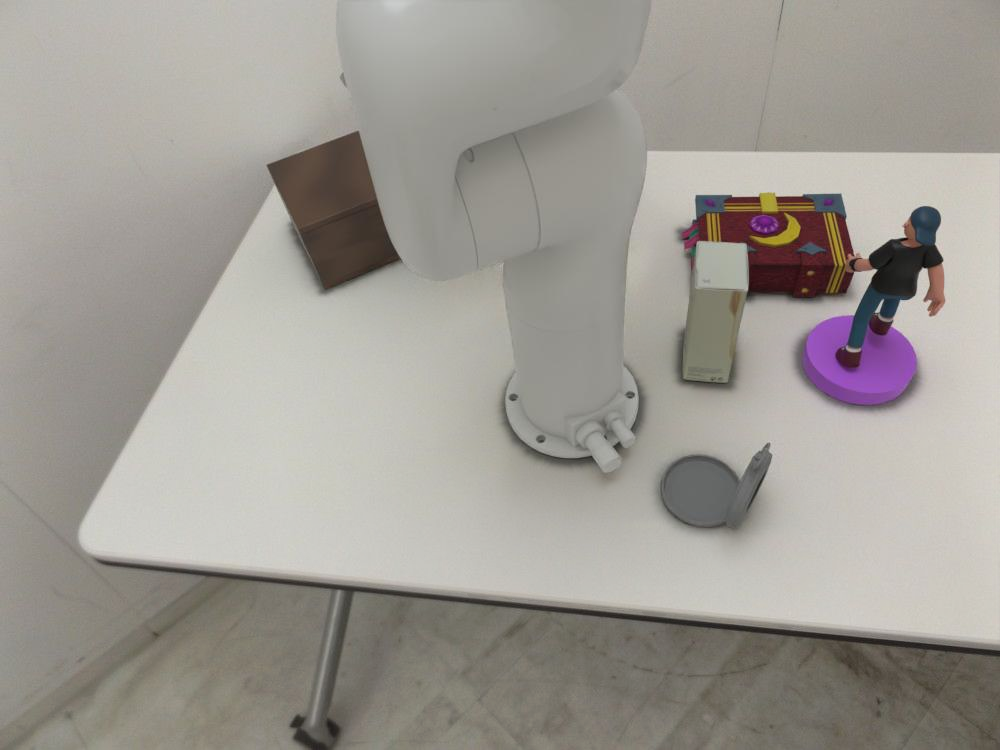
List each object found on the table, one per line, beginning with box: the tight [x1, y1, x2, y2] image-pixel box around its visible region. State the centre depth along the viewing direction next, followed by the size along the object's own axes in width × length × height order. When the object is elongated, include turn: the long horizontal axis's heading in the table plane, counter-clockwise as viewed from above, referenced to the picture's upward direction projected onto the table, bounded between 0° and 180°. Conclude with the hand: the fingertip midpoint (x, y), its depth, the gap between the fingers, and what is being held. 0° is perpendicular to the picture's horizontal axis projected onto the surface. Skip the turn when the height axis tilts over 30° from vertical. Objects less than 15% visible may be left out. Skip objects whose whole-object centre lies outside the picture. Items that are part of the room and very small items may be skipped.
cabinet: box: [266, 129, 401, 291], centre depth 82 cm, size 15×14×9 cm
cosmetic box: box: [682, 241, 749, 384], centre depth 63 cm, size 6×4×12 cm
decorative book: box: [681, 192, 856, 298], centre depth 73 cm, size 11×16×5 cm
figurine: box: [801, 205, 946, 406], centre depth 58 cm, size 9×9×18 cm
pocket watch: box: [660, 442, 773, 529], centre depth 54 cm, size 8×8×10 cm
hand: (433, 123), depth 79 cm, fingers open, 9 cm apart
